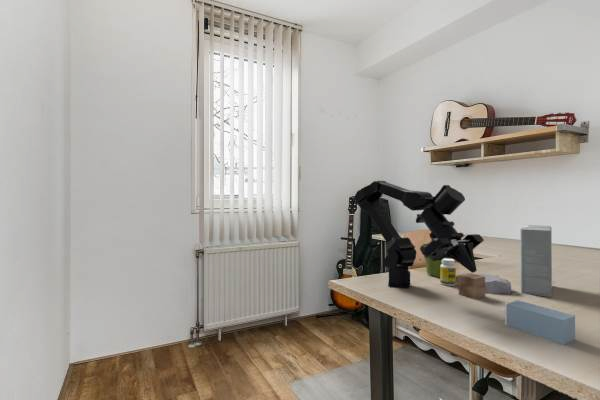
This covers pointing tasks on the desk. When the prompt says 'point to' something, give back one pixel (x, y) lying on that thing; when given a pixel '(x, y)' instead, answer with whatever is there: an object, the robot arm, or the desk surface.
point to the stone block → (496, 284)
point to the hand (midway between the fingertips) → (474, 271)
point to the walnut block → (472, 285)
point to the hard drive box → (536, 260)
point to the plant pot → (433, 266)
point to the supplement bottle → (448, 272)
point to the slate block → (540, 321)
